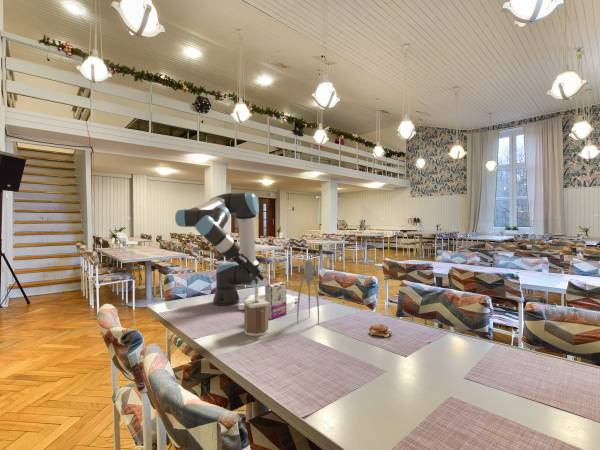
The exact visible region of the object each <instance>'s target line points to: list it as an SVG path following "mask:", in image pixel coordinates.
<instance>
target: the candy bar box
mask: <svg viewBox="0 0 600 450" xmlns="http://www.w3.org/2000/svg"><path fill="white" fill-rule="evenodd" d="M264 293H265V301H267V302H269V303H270V305H269V306H268V320H274V319H277V318H280V317H282V316H286V315H287V311H286V294H287V282H282V281H279V282H275V283H270V284H267V285H266V286H264Z"/></svg>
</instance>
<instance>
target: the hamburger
mask: <svg viewBox="0 0 600 450" xmlns="http://www.w3.org/2000/svg"><path fill="white" fill-rule="evenodd" d="M368 330H369V333H370V336H375V335H376V337H385V338H386V337H389V336H390V335H393V332H392V331H391V328H390V327H388V326H387V325H386V324H383V323H378V324H377V323H376V324H372V325H371V326H370V327H369V328H368ZM390 338H391V337H390ZM390 338H388V340H389V339H390Z"/></svg>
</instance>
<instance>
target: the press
mask: <svg viewBox="0 0 600 450" xmlns="http://www.w3.org/2000/svg"><path fill="white" fill-rule="evenodd" d="M242 303H244V304H245V305H244V309H243V312H244V315H243V316H244V317H243V318H244V322H243V323H244V325H243V327H244V329H243V331H244V332H243V333H244V335H246V336H249V337H261V336H264V335H267V334H268V333H269V319H268V306H269V305H270V303H269V302H267V301H265V300H263V299H258V303H255V300H248V301H245V300H243V302H242Z"/></svg>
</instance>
